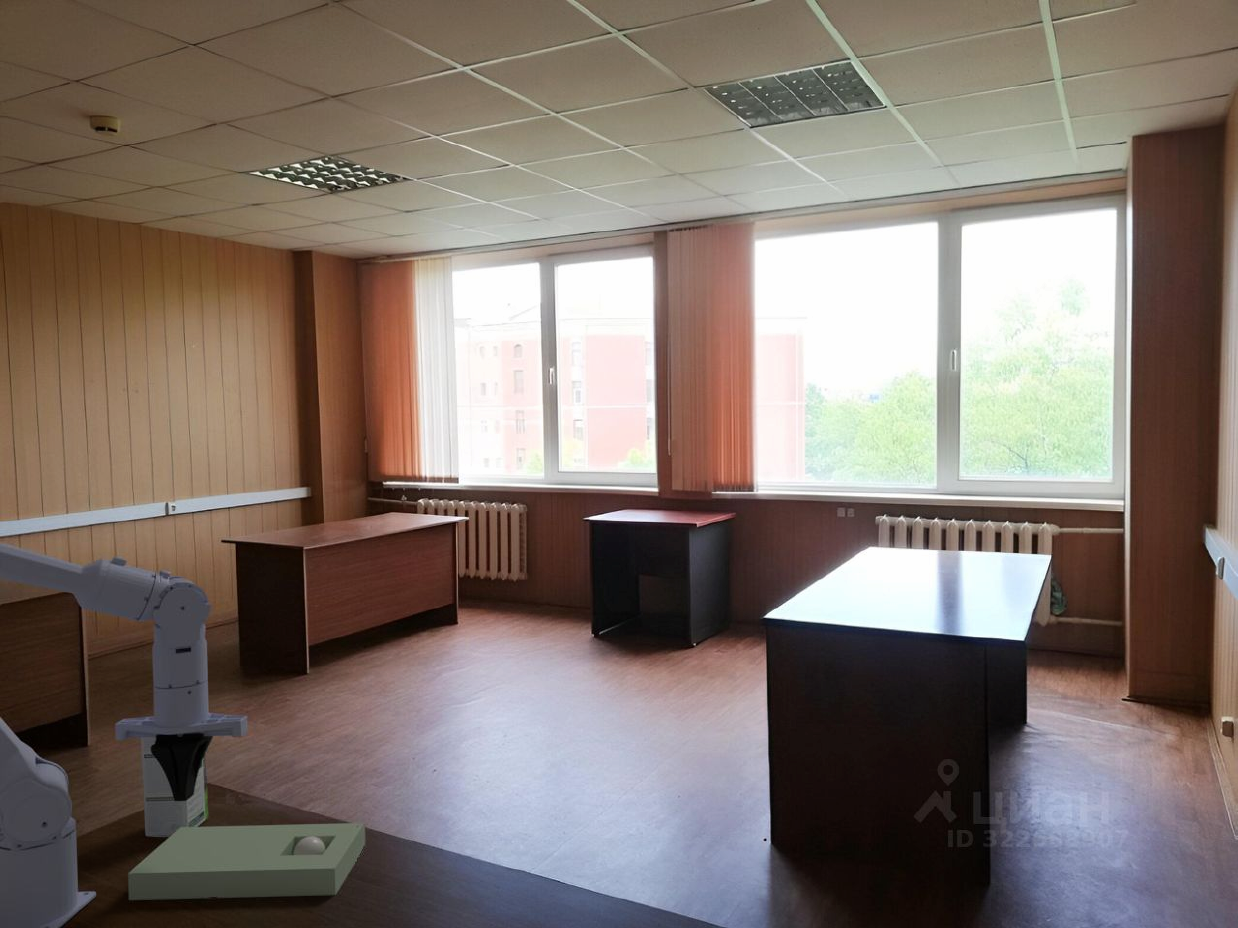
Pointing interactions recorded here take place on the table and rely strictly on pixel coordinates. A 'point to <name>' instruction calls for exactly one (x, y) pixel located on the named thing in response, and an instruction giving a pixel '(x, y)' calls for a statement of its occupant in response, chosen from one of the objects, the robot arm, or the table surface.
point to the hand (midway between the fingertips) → (184, 797)
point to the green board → (247, 862)
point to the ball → (310, 846)
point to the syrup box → (169, 797)
